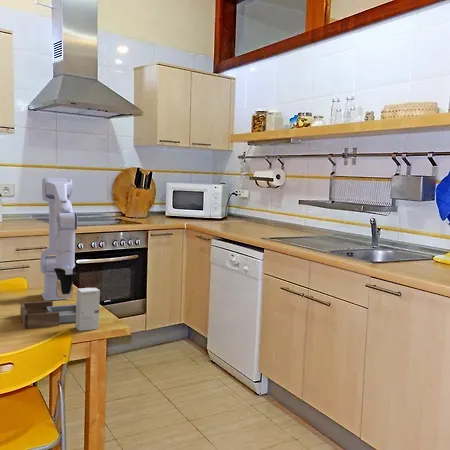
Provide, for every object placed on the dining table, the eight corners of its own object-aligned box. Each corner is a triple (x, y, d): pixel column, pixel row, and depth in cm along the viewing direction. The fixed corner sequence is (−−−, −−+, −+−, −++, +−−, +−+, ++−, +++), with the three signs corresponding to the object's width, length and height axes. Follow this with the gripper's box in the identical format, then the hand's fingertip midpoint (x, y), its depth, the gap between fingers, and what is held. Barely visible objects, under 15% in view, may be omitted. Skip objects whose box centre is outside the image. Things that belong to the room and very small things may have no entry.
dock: (20, 314, 157) (20, 302, 156) (51, 312, 161) (52, 300, 161) (25, 328, 144) (25, 315, 144) (58, 325, 149) (59, 312, 149)
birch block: (55, 295, 157) (56, 279, 156) (70, 294, 159) (70, 279, 158) (58, 298, 153) (58, 283, 152) (72, 297, 155) (72, 282, 154)
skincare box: (79, 331, 145) (80, 292, 143) (74, 327, 148) (75, 288, 147) (99, 328, 148) (100, 290, 147) (94, 324, 152) (95, 286, 150)
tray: (45, 312, 160) (46, 299, 159) (88, 309, 167) (89, 296, 166) (51, 325, 149) (52, 311, 148) (97, 320, 155) (98, 307, 155)
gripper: (48, 246, 159) (48, 287, 160) (55, 254, 146) (55, 298, 148) (71, 246, 162) (70, 285, 164) (79, 253, 149) (78, 296, 151)
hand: (64, 291), depth 156 cm, fingers closed on birch block, 4 cm apart
